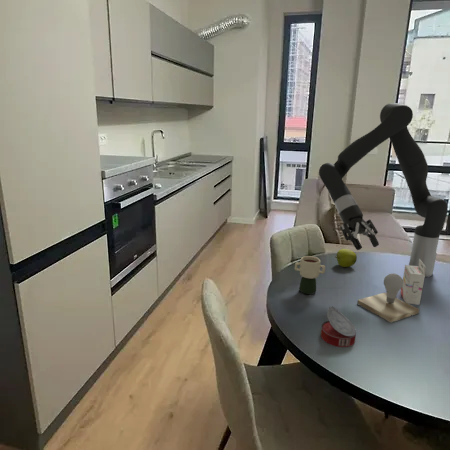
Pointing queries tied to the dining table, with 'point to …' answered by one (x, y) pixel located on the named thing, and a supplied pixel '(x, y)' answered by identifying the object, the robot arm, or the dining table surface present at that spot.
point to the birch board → (388, 307)
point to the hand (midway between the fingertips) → (368, 247)
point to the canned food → (338, 329)
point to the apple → (346, 257)
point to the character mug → (309, 273)
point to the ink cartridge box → (413, 283)
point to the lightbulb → (392, 286)
